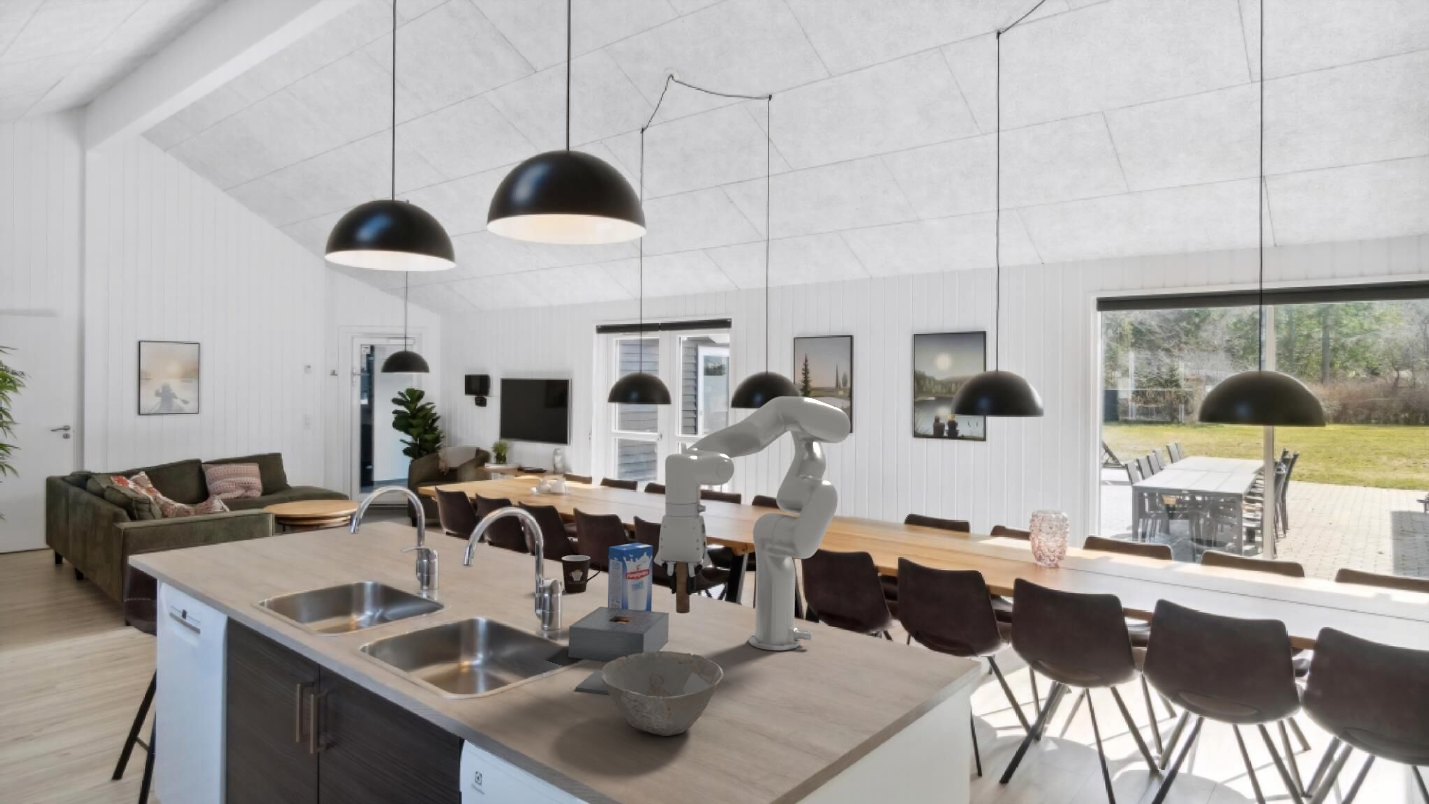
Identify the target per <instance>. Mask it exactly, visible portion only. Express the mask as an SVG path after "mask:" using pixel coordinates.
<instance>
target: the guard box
mask: <svg viewBox="0 0 1429 804" xmlns="http://www.w3.org/2000/svg"><path fill="white" fill-rule="evenodd" d="M669 619H670V613H669V612H665V611H664V612H662V611H652V610H651V611H642V610H631V609H621V608H610V607H608V606H599V607H598V608H596V609H594V610H593V611H591V612H589V613H588V614H587V615H585V616H584V617H581V618H580V619H579V620H577V621H576V622H574V623H572V624H571V625H568V658H573V659H582V660H589V661H601V662H607V663H609V662H610V661H613V660H615V659H617V658H620V657H624V656H625V657H628V655H632V654H636V653H639V654H641V653H643V652H650V653H652V652H653V651H654V652H657V651H661V649H662V648H663V647H664V646H666V644H667V643H669V629H670V628H669V626H670V625H669V623H670V621H669ZM621 622H627V623H621Z"/></svg>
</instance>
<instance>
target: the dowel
mask: <svg viewBox="0 0 1429 804" xmlns="http://www.w3.org/2000/svg"><path fill="white" fill-rule="evenodd" d="M688 576H689V566H688V563H684V562H676V593H675V612H676V613H678V614H689V613H690V610H691V607H690V606H691V605H690V601H691V600H690V596H691V595H688V594H687V577H688Z"/></svg>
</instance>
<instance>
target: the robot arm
mask: <svg viewBox="0 0 1429 804" xmlns="http://www.w3.org/2000/svg"><path fill="white" fill-rule="evenodd" d="M788 432H790V434H791V437H792V440H793V446H794V456H793V459H792V461H791V463H790V466H789V468H788V470H787V472H786V474H785V476H784V478H783V480H782V482H781V484H780V486H779V489H778V491H777V493H776V498H775V501H776V505H777V507H778V508H779V509H780V510H781V511H783V512H784V513H788V514H783V513H777V512H776V513H775V512H772V513H771V512H769V513H766V514H763V515H761V516H760V517H758V518H757V520H756V521H755V523H754V525H753V529H752V539H753V545H754V546H753V547H754V550H755V561H756V567H755V568H756V570H755V571H756V575H755V576H756V577H755V614H754V615H755V617H754V618H755V619H754V620H755V621H754V622H755V623H754V632H753V633H751V634H750V635H748V644H750V645H751V646H753V647H755V648H757V649H761V650H766V651H767V650H768V651H789V650H793V649H796V648H798V647H799V646H800V645H801V640H805V641H812V640H813V632H811V631H809V629H800V628H799V627H798V623H797V622H795V608H796V607H795V601H796V596H795V594H796V591H795V590H796V567H795V563H794V561H793V559H794V558H795V559H800V560H806V559H809V558H811V557H812V556H814V555H815V553H816V552H817V551H818V550H819V548H820V546H821V544H822V543H823V540H824V538H825V535H826V533H827V531H828V529H829V526H830V525H831V523H832V520H833V518H834V516H835V513H836V510H837V508H838V492H837V489H836V487H835V486H834V484H832V483H831V482H830V481H828V480H826V479H823V476H824V474H825V471H826V469H827V457H826V454H825V452H824V449H823V446H822V443H823V444H824V443H826V444H840V443H842V442H843V441H845V440H846V439H847V437H848V436H849V435H850V432H851V421H850V418H849V416H848V415H847V413H846V412H845V411H844V410H842V409H840V408H838V407H835V406H833V405H830V404H827V403H826V402H825V403H824V402H821V401H820V400H816V399H814V398H811V397H807V396H786V395H785V396H783V395H782V396H777V397H774V398H771V399H770V400H769V401H767V402H766V403H764V404H763V405H762V406H760V407H759V408H757V410H754V412H752V413H751V414H749V415H748V416H746V417H745V418H743V419H742V420H741V421H739V422H737V423H734V424H732V425H729V426H727V427H724V428H722V429H720V430H717V431H715V432H713V433H710V434H708V435H706V436H704V437H702V438H701V439H699V440H698V441H696V442H695V443H693V444H692V445H691V446H689V447H688V448H686V450H685V451H684V452H682V453H674V454H669V455H667V456H666V458H665V460H664V470H665V471H664V477H665V478H664V481H665V482H664V484H665V487H664V488H665V494H664V495H665V496H664V497H665V502H664V503H665V508H664V509H665V513H664V515H663V516H662V519H661V523H660V530H659V531H660V532H659V541H658V550H657V553H656V555H655V556H654V558H653V563H655V564H656V565H659V566H660V567H662V569H663V570H664V571H665V572H666V573H667V576H669V590H671V593H670V594H671V595H676V562H684V563H688V566H689V576H688V577H687V594H688V595H690V596H691V595H692V594H693V593H694V592H695V591H696V589H697V574H698V573H700V572H701V570H703V569H705V568H707V567H709V566H710V565H712V564H713V562H712V560H711V557H710V555H709V553H708V543H707V542H708V541H707V532H706V531H707V530H706V524H705V519H704V515H700V514H701V513H702V512H704V513H705V512H706V510H707V509H706V508H707V507H706V505H703V504H701V501H700V486H716V487H717V486H721V485H724V484H726V483H728V482H730V480H731V479H732V477H733V475H734V472H735V466H734V462H733V460H732V459H734V458H739V457H745V456H746V457H747V456H750V455H754V454H757V453H760V452H762V451H763V450H765V449H767V447H768V446H769V445H771V444H772V443H774V441H776V440H777V439H779V438H780V437H782V436H783V435H784V434H785V433H788ZM789 514H790V515H789ZM791 514H792V515H796V516H792V515H791ZM698 563H699V564H698Z"/></svg>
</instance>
